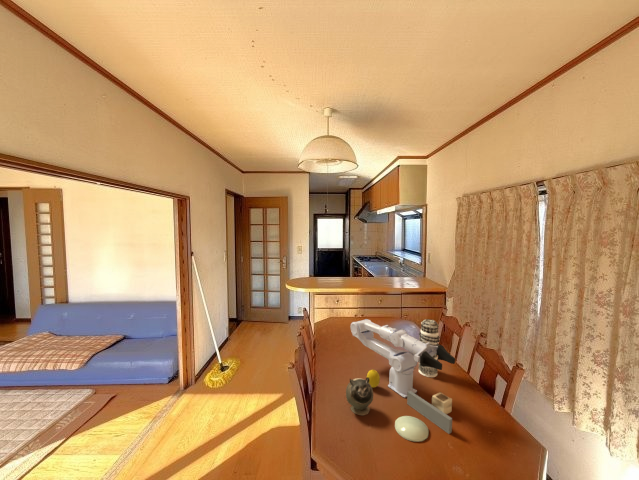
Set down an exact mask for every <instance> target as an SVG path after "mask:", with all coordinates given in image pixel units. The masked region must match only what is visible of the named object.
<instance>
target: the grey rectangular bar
mask: <svg viewBox="0 0 639 480" xmlns="http://www.w3.org/2000/svg"><path fill="white" fill-rule="evenodd" d="M406 400H407V401H406V405H408V406H409V407H410V408H412V409H414V410H415V411H416V412H418V413H419V414H420V415H422V416H423V417H424V418H426V419H427V420H428V421H430V422H431V423H433V424H434V425H436V426H437V427H439V428H440V429H441V430H442V431H444V432H445V433H447V434H448V435H450V434H451V433H452V431H453V430H452V429H453V417H451V416H450V415H448V414H445V413H443V412H442V411H440V410H439V409H437V408H436V407H434V406H433V405H432V403H430V402H428V401H427V400H425V399H424V398H422V397H421V396H419V395H418V394H417V393H413V392H411V391H408V393H407V397H406Z"/></svg>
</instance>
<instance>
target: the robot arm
mask: <svg viewBox="0 0 639 480" xmlns="http://www.w3.org/2000/svg"><path fill="white" fill-rule="evenodd" d="M349 327H350V331H351V334H352V337H355V338H357V339H358V340H359V341H360V343H362V345H363V346H365V347H366V348H368V349H370V350H372V351H373V352H375V353H376V354H378V355H380V356H381V357H383V358H385V359H387V360H388V364H389V366H390V369H389V378H388V379H389V381H388V384H387V387H388V388H389V389H391V390H392V391H394V392H395V393H397V394H398V395H400V396H401V397H402V398H407V393H408V391H411V392H413V393H415V394H417V392H418V390H417V389H416V388H414V387H413V383H414V370H415V368H416V366H417V365H418V363H419V362H420V365H421V366H422V367H432V368H435V369H437V370H438V371H442V370H443V363H442V362H441V361H444V362H447V363H449V364H451V365H454V364H455V363H456V358H455V357H454V356H453V355H451V353H449V352H448V350H446V348H445V347H444V345H442V344H439V345H438V346H432V345H430V343H429V342H428V343H426V344H425V343H423V342H421V341H420V339H417V338H416V337H413V336H412V335H409V333H408V331H406V330H405V329H399V330H398V328H396V327H395V328H392V327H391V326H389V324H385V325H382V326H381V325H379V324H377V323H374V322H373V321H372V320H371V319H368V318H365V319H362V320H358V321H352V322H351V323H350V326H349ZM374 333H375V334H378V335H379V337H380V338H382V339H383V340H385V341H388V342H391V344H392V345H393V347H392V346H391V345H389V344H387V343H385V342H383V341H381V340H379V339H377V338H375V337H374V335H375V334H374ZM398 347H400V348H402V349H396V348H398ZM435 354H437V356H438V361H437V360H436V359H434V358H433V356H434V355H435Z"/></svg>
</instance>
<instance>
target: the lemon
mask: <svg viewBox="0 0 639 480" xmlns="http://www.w3.org/2000/svg"><path fill="white" fill-rule="evenodd" d="M367 377H368V378H369V380H370V382H369V384H370V385H371V387H372V389H374V388H376V387H378V386H379V384H380V380H381V379H380V373H378V371H377V370H375V369H370V370H368V372H367V375H366V378H367Z"/></svg>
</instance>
